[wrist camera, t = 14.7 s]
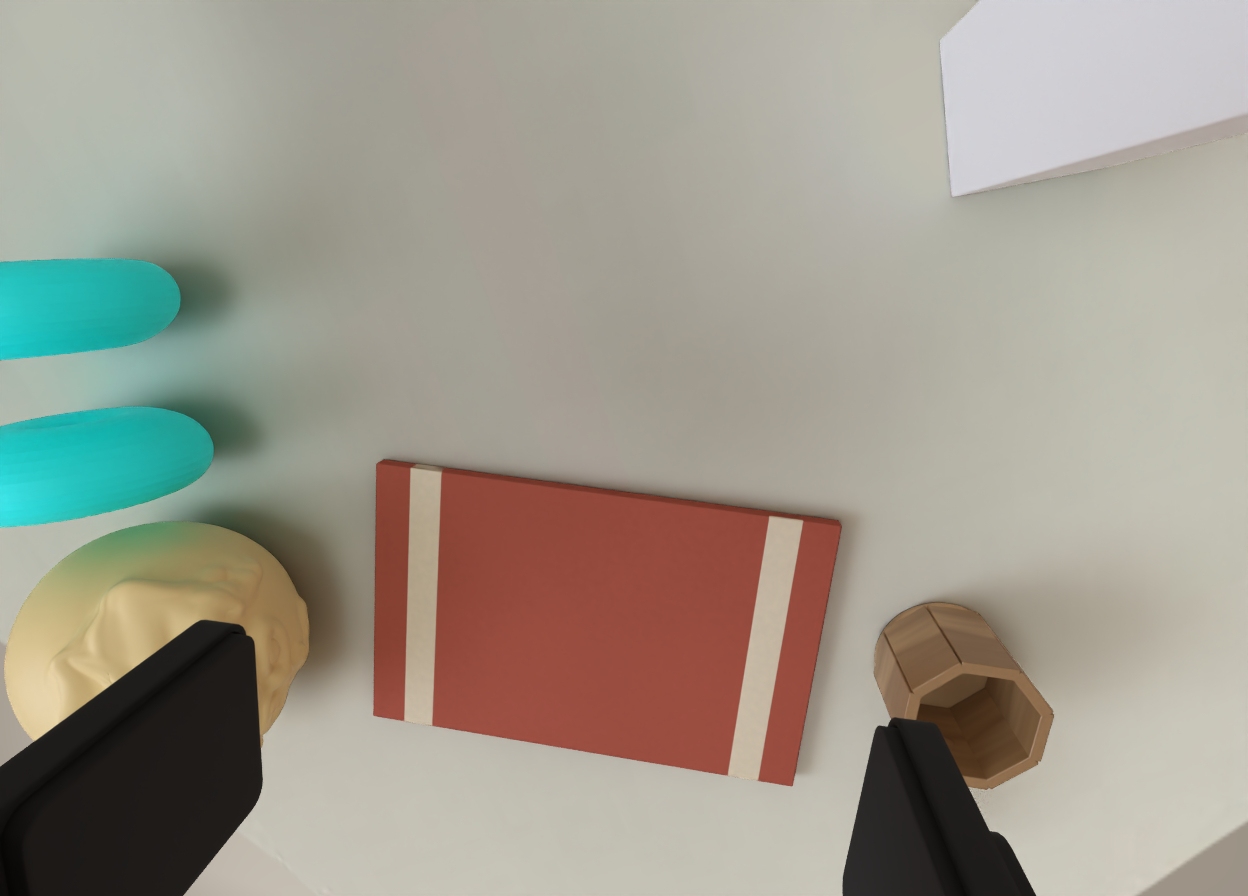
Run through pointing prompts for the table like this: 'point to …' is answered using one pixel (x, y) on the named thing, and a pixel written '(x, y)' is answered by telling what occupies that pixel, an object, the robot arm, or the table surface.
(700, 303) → the table surface
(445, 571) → the towel
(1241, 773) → the table surface
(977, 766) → the scoop
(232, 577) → the gathered cream pouch
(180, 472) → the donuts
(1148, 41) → the milk
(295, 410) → the table surface
